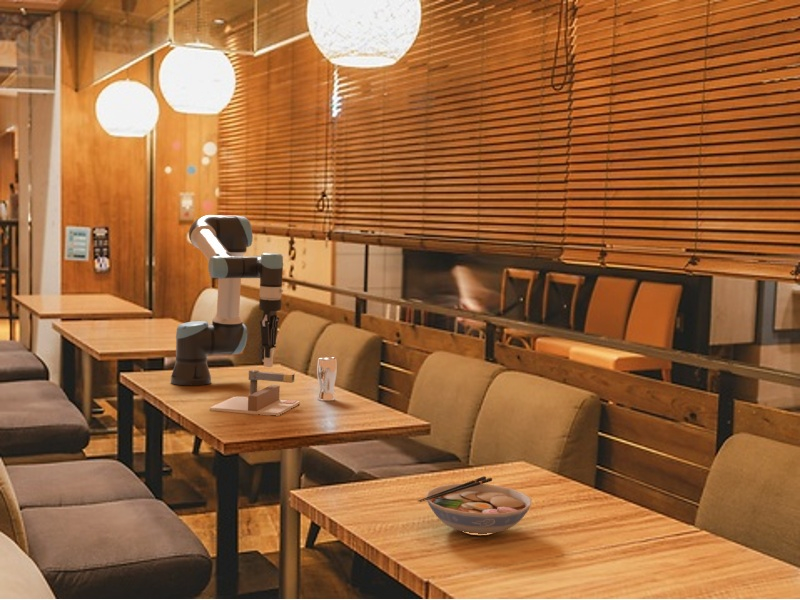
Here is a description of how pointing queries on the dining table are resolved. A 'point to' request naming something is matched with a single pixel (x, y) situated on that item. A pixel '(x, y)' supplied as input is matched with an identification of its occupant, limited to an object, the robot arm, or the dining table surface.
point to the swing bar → (271, 376)
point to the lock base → (243, 406)
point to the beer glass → (326, 377)
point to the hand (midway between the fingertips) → (268, 366)
